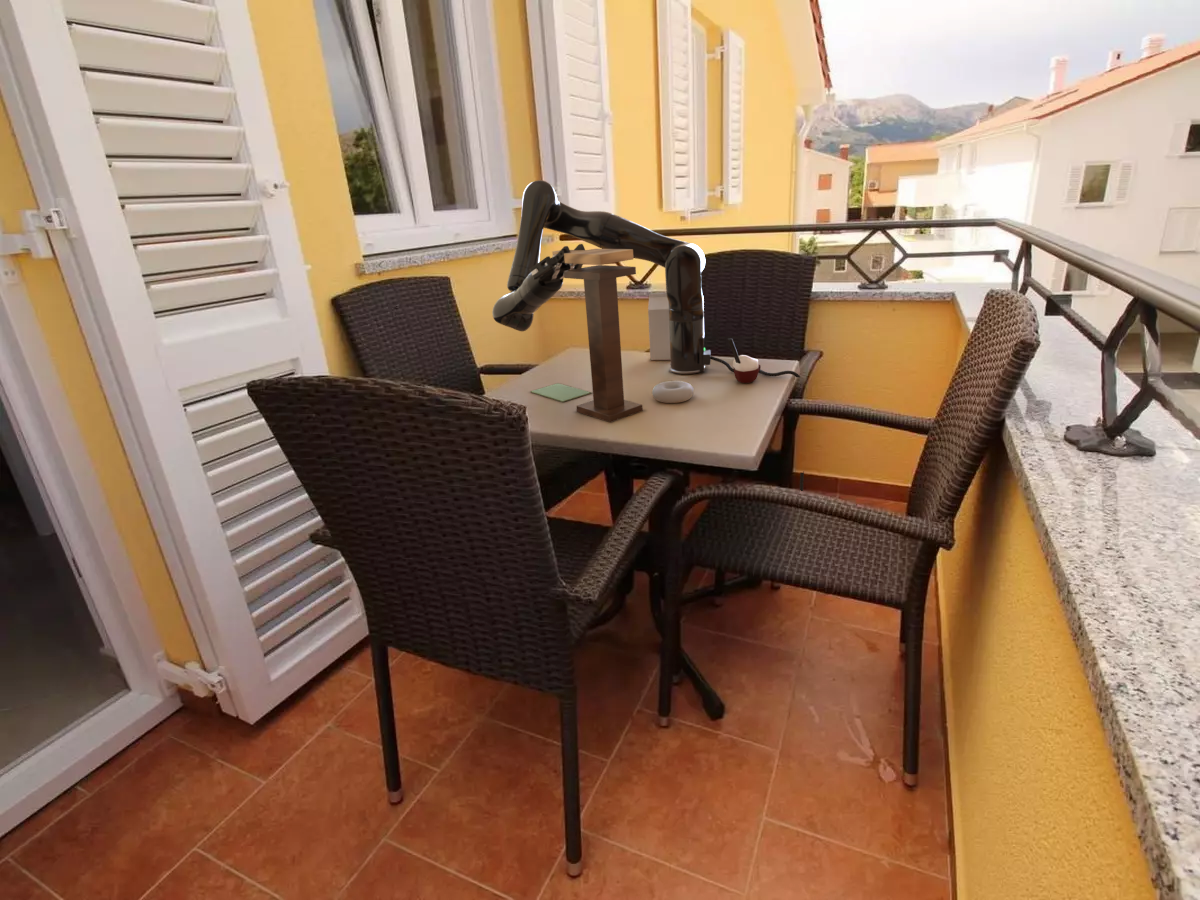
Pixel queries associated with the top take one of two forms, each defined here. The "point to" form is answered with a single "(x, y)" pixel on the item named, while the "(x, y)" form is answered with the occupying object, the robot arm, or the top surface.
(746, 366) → the cocoa
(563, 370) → the top surface
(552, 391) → the cloth
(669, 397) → the donut
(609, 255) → the paddle
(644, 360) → the top surface
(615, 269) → the stand
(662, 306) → the milk carton
